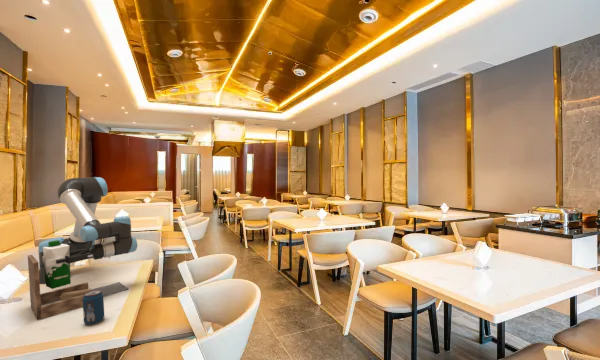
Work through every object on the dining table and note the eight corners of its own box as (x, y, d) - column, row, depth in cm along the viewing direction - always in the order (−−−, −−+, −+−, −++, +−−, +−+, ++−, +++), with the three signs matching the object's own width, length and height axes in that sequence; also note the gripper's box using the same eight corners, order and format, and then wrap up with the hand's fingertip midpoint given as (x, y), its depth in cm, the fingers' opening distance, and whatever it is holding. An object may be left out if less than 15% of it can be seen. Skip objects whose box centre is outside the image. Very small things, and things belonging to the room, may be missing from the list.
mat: (119, 283, 166) (119, 282, 166) (128, 289, 156) (128, 288, 156) (88, 291, 155) (88, 290, 155) (96, 298, 146) (96, 297, 146)
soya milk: (65, 280, 145) (63, 238, 144) (74, 283, 140) (71, 240, 139) (42, 286, 137) (40, 242, 137) (50, 290, 132) (48, 245, 132)
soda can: (102, 316, 127) (100, 287, 127) (106, 321, 123) (105, 292, 122) (82, 322, 122) (80, 293, 122) (86, 328, 118) (84, 297, 117)
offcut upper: (62, 298, 143) (62, 293, 143) (90, 293, 148) (90, 288, 148) (60, 301, 139) (60, 296, 139) (89, 296, 144) (88, 291, 144)
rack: (87, 291, 155) (85, 245, 154) (98, 302, 141) (96, 251, 141) (30, 307, 139) (27, 255, 138) (37, 320, 125) (33, 263, 125)
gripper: (109, 261, 144) (48, 274, 128) (96, 254, 159) (41, 265, 142) (108, 246, 144) (47, 257, 127) (96, 240, 159) (40, 249, 142)
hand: (44, 261), depth 135 cm, fingers closed on soya milk, 9 cm apart
